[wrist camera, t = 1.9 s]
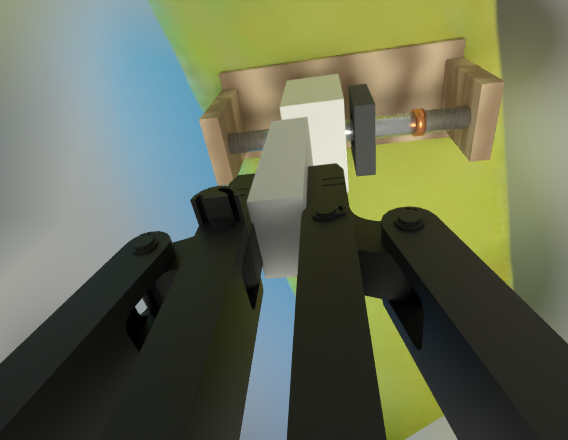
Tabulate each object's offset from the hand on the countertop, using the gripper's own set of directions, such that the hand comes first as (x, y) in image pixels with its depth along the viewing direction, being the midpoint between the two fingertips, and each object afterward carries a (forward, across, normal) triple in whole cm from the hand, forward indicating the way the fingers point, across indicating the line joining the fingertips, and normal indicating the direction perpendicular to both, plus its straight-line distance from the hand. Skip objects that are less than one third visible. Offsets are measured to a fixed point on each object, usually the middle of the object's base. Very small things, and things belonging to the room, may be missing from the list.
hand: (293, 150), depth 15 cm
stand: (+35, +3, -8) cm, 36 cm away
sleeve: (+30, 0, -8) cm, 31 cm away
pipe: (+26, +3, -8) cm, 28 cm away
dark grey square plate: (+28, +5, -8) cm, 30 cm away
